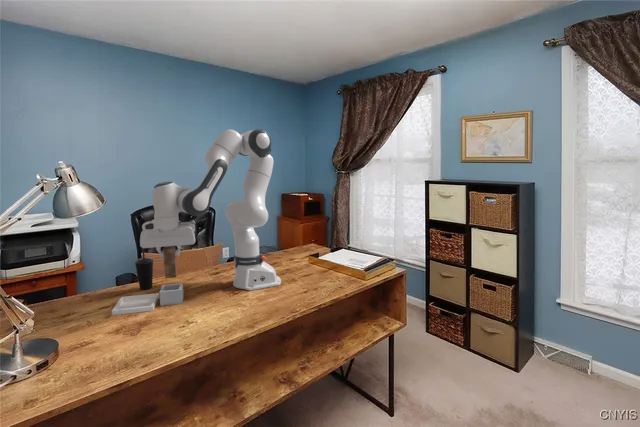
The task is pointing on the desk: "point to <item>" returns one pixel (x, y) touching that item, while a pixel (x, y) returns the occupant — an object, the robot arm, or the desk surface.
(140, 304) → the tray
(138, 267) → the drinking cup
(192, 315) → the desk surface
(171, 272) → the walnut peg
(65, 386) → the desk surface
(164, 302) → the box
